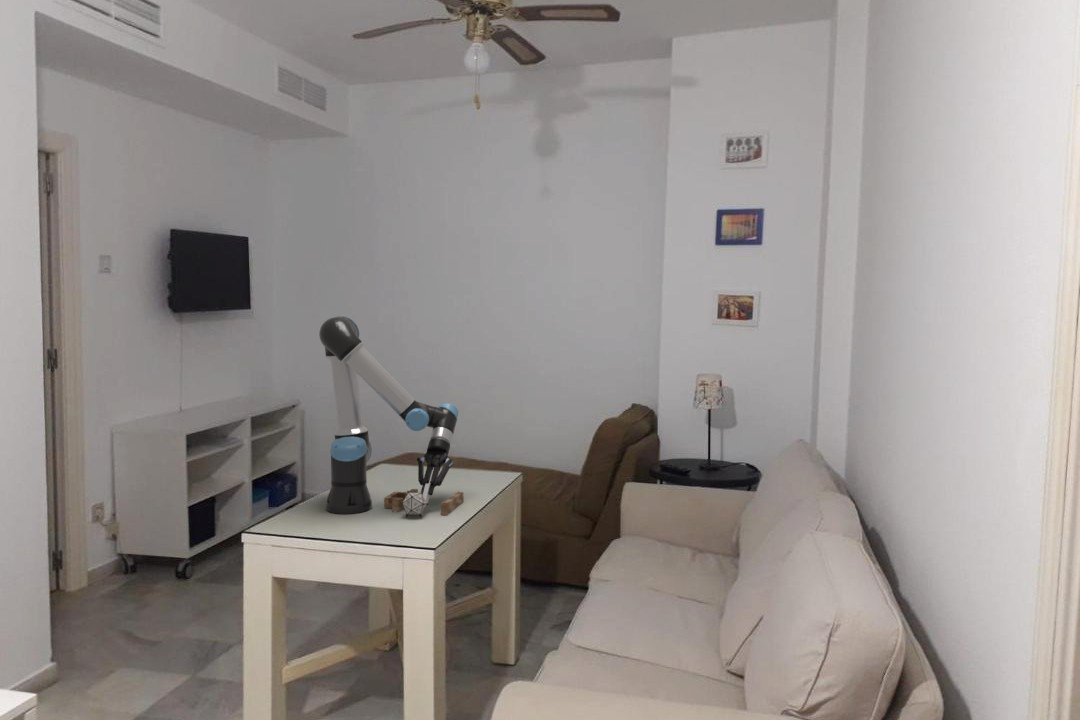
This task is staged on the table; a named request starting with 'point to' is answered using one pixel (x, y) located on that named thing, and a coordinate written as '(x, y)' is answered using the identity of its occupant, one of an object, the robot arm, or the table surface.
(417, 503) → the game die
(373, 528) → the table surface
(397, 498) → the wooden blocks
